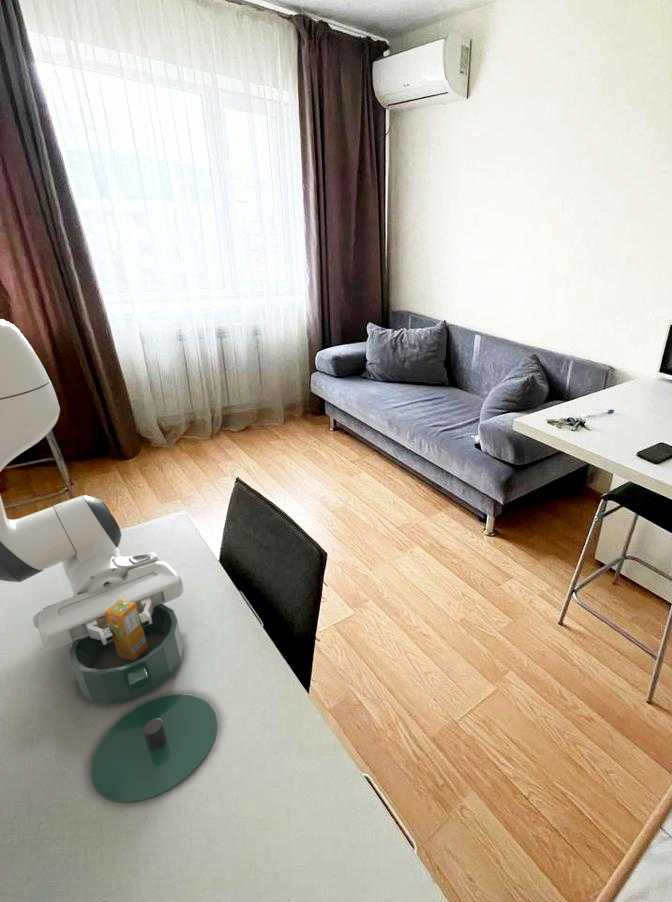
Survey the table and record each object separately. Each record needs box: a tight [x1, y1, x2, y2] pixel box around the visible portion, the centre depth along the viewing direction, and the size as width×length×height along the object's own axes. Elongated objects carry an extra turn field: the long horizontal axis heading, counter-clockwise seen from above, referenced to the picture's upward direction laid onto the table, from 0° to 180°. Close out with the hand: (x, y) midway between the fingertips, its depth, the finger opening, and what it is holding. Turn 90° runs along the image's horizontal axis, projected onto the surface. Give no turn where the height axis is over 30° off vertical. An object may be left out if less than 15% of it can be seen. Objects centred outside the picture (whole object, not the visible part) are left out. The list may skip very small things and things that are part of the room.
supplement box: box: [105, 599, 149, 662], centre depth 79 cm, size 3×3×10 cm
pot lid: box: [90, 693, 218, 803], centre depth 70 cm, size 16×16×5 cm
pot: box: [68, 604, 185, 705], centre depth 81 cm, size 15×20×8 cm
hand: (128, 631), depth 78 cm, fingers closed on supplement box, 4 cm apart
